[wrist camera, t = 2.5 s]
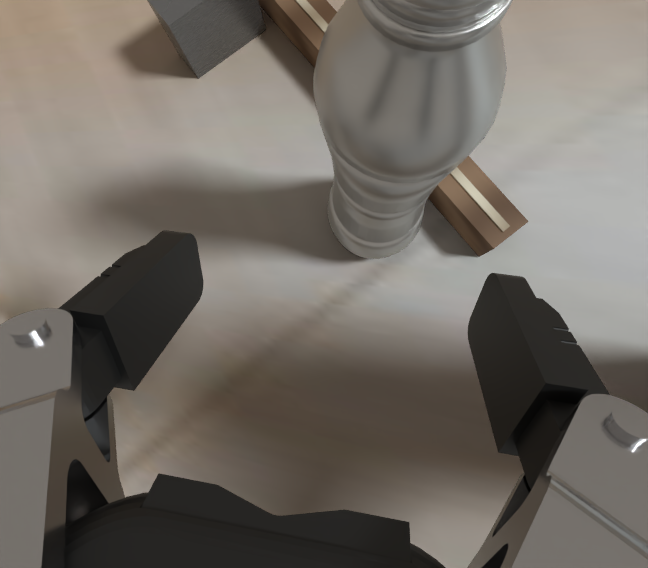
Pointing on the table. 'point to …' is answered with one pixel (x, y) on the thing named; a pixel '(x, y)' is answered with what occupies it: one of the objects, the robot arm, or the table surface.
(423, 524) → the table surface
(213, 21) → the metal end stop
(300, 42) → the walnut rail
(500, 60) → the plastic bottle
